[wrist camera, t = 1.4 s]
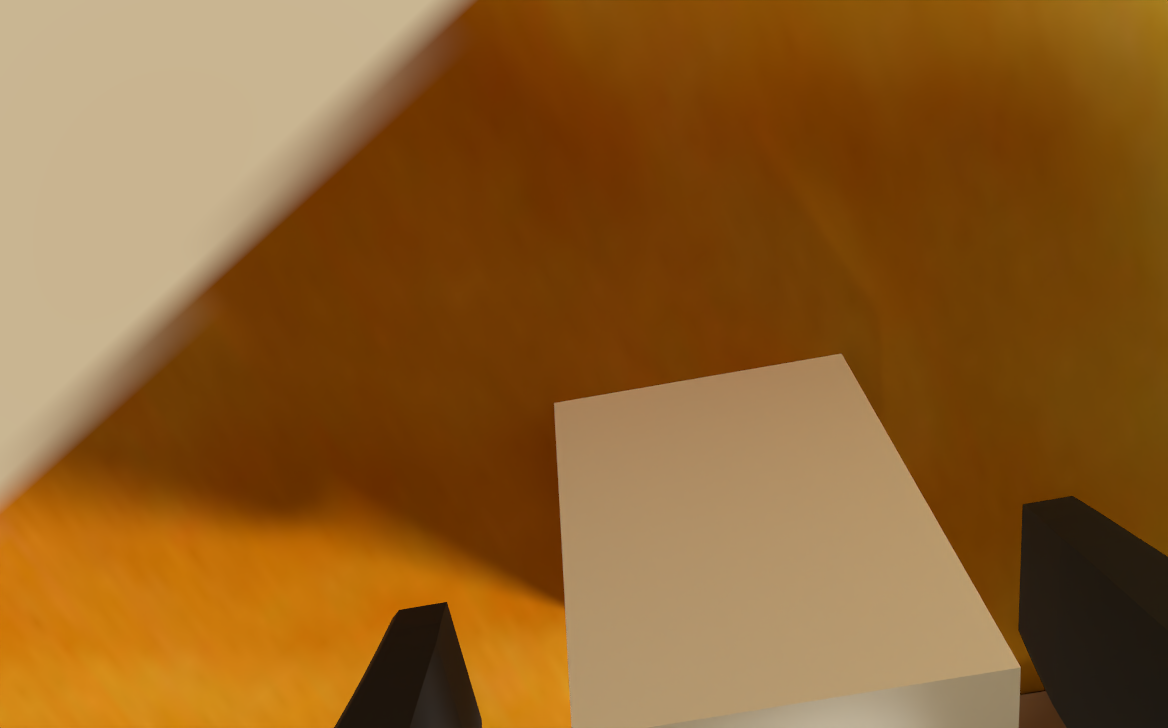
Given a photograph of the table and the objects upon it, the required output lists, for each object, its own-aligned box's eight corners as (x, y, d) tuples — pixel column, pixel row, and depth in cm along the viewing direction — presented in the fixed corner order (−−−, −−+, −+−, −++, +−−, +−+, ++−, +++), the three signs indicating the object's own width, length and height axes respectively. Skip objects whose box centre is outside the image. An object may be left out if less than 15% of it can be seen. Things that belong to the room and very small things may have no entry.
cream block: (841, 353, 15) (1021, 667, 9) (854, 578, 17) (1011, 947, 11) (553, 402, 15) (572, 739, 10) (599, 620, 17) (636, 1003, 11)
